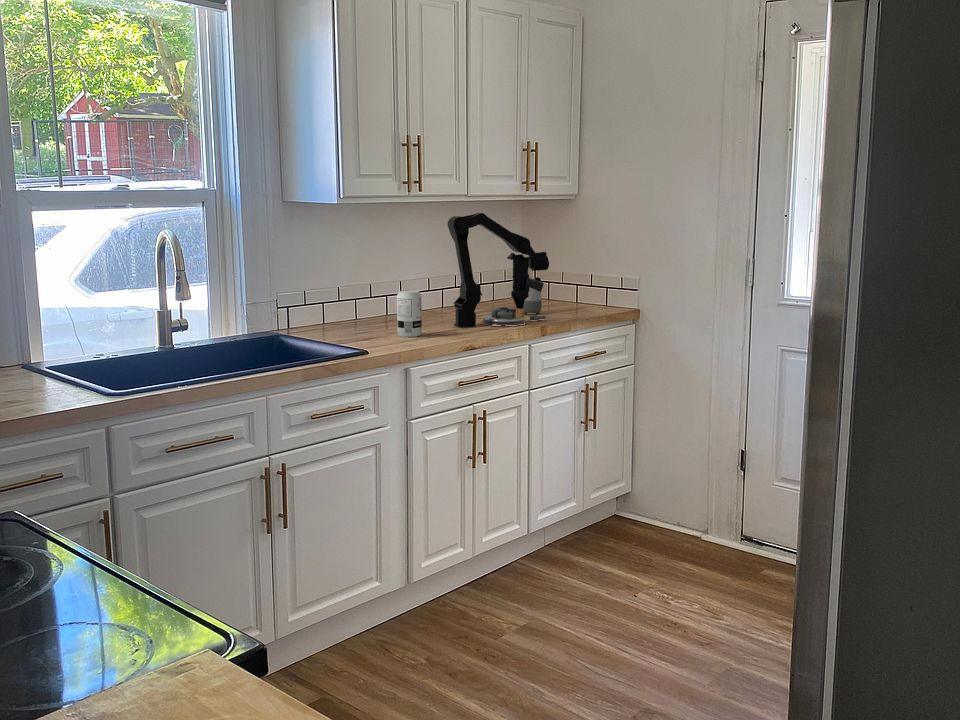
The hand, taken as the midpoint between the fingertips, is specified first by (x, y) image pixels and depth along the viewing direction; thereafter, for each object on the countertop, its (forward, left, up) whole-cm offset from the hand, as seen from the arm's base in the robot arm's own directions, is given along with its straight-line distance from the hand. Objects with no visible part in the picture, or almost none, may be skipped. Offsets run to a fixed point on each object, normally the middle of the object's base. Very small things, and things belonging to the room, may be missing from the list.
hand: (520, 313), depth 352 cm
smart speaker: (+14, +24, -4) cm, 28 cm away
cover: (-6, +2, -1) cm, 6 cm away
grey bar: (+9, +5, -4) cm, 11 cm away
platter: (-6, +2, -2) cm, 7 cm away
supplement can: (-47, -14, -4) cm, 49 cm away
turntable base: (-6, +2, -4) cm, 7 cm away
